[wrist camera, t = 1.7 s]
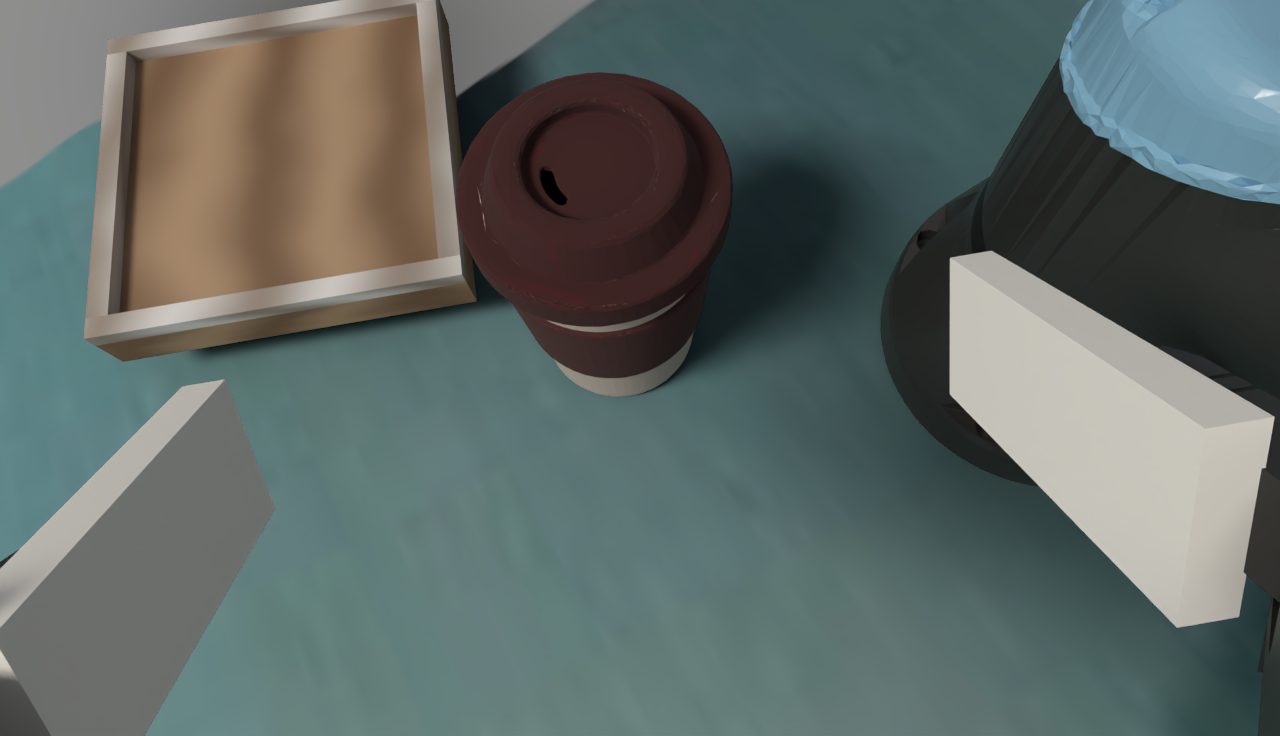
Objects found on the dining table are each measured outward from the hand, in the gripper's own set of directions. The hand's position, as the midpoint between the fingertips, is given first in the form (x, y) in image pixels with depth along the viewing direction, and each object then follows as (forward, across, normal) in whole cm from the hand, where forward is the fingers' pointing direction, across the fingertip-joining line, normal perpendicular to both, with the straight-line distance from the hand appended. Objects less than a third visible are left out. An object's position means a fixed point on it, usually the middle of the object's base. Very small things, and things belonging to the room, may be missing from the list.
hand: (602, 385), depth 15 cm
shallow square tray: (+33, -15, -2) cm, 36 cm away
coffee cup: (+26, 0, -9) cm, 27 cm away
